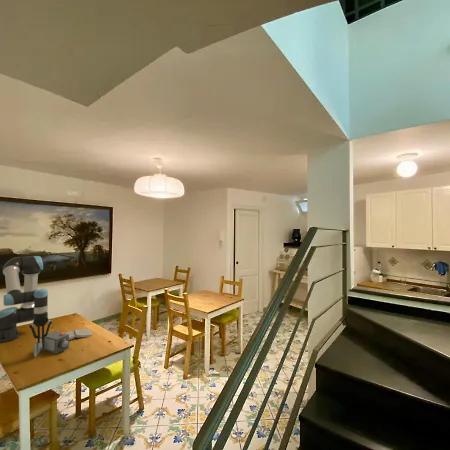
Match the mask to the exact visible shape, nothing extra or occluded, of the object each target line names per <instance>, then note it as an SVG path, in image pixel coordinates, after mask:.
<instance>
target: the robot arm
mask: <svg viewBox="0 0 450 450" xmlns="http://www.w3.org/2000/svg"><path fill="white" fill-rule="evenodd" d="M43 270H44V263H43V259H42V257H41V256H40V255H33V256H32V255H29V256H17V257H12V258H10V259H9V260H8V261H6V263H5V264H4V265H3V267H2V274H3V275H4V277H5V280H4V281H5V288H6V294H4V295H3V299H2V301H3V306H4V307H6V308H4V309H1V310H0V344H1V343H2V344H3V343H8V341H9V342H12V341H15V340H17V339H19V337H20V332H19V331H18V328H17V327H18V326H17V324H21V323H27V322H32V323H30V324H29V325H28V327H29V328H30V330H31V331H32V332H31V333H32V336H33V338H34V339H37V342H38V343H40V348H42V342H44V337H45V336H47V334H48V333H49V330H50V327H51V325H52V323H53V320H52V319H49V317H48V316H49V315H48V311H49V309H48V308H49V307H48V301H49V300H48V297H49V296H48V295H49V293H48V289H47V288H39V289H38V283H39V282H38V277H39V274H40V273H41V271H43ZM20 272H21V274H22V275H23V276H24V277H23V279H24V282H23V286H24V287H23V291H22V290H21V289H22V288H21V282H20V277H19V275H20V274H19V273H20ZM15 305H17V306H18V305H20V307H19V308H18V307H17V306H15ZM9 306H11V307H9ZM46 324H47V326H46ZM34 326H36V327H37V333H36V330H35V327H34ZM45 326H46V327H47V328H46V330H45Z"/></svg>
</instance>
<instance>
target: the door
mask: <svg viewBox="0 0 450 450" xmlns="http://www.w3.org/2000/svg"><path fill="white" fill-rule="evenodd" d="M42 348H43V342H42ZM42 348H40V343H38V341H37V342H36V343H35V344H34V347H33V349H32V351H33V352H32V353H33V357H34V358H36V357H37V355H39V354H40V352H41V351H43V350H42Z"/></svg>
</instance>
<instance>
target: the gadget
mask: <svg viewBox="0 0 450 450" xmlns="http://www.w3.org/2000/svg"><path fill="white" fill-rule="evenodd" d="M64 333H65V334H69V341H70V340H73V339H75V338H90V337H93V334H92V332H91V330H90V328H86V329H82V328H81V329H73V330H70V331H67V332H64Z"/></svg>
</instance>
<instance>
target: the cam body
mask: <svg viewBox="0 0 450 450" xmlns="http://www.w3.org/2000/svg"><path fill="white" fill-rule="evenodd" d="M65 333H66V332H61V331H57V330H54V331H51V332H48V334H47V336H45V337H44V342H43V348H42V350H41V351H45V352H48V353H51V354H54V355H57V354H60V353H62V352H64V351H66V350H69V348H70V340H69V334H65Z"/></svg>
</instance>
